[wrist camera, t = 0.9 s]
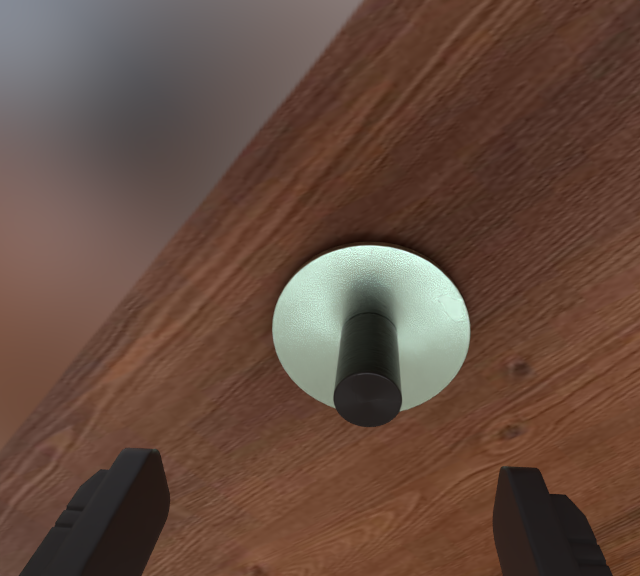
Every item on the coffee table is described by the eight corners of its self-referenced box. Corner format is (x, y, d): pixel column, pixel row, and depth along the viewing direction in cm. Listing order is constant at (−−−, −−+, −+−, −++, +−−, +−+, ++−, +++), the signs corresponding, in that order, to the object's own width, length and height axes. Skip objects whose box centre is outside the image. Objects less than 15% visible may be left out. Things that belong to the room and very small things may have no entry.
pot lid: (256, 371, 31) (227, 449, 25) (305, 210, 26) (283, 258, 20) (422, 423, 31) (433, 512, 25) (501, 274, 26) (539, 341, 20)
